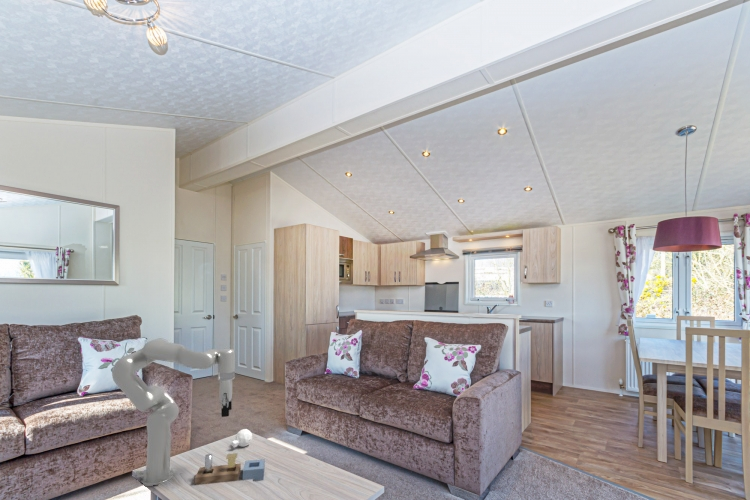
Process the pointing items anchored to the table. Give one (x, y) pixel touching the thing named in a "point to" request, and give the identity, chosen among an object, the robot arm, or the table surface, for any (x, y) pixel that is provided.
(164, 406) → the robot arm
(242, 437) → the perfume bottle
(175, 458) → the table surface
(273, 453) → the table surface
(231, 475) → the socket block
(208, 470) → the steel peg
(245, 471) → the blue square hole block
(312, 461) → the table surface
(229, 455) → the key
